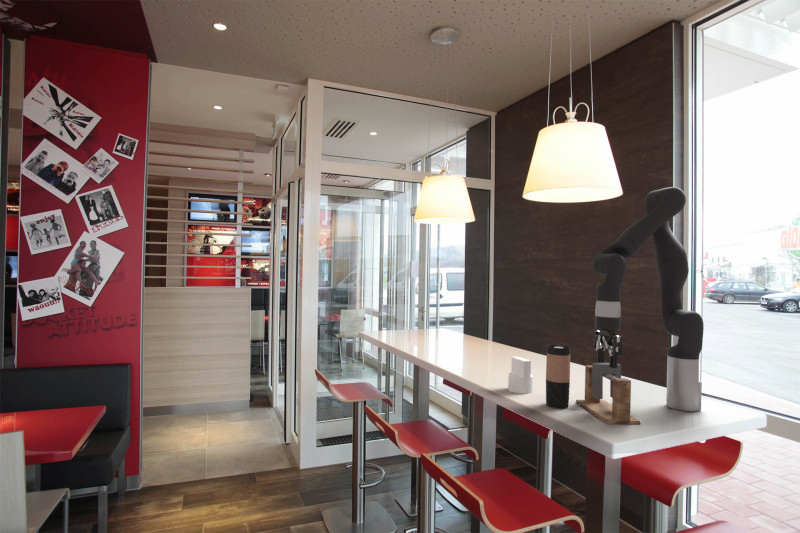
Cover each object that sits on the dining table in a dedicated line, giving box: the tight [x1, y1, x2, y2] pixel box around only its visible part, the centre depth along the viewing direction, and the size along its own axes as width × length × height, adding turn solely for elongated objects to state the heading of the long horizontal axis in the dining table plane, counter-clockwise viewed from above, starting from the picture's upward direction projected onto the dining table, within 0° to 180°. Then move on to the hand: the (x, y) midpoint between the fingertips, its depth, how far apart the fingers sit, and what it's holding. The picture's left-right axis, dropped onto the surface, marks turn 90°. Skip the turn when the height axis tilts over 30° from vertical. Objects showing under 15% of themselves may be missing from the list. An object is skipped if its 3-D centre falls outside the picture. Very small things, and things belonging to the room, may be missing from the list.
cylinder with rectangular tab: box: [507, 356, 534, 395], centre depth 172 cm, size 9×9×12 cm
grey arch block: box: [591, 362, 622, 400], centre depth 147 cm, size 8×3×11 cm, turn 92°
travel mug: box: [545, 344, 571, 410], centre depth 154 cm, size 8×8×20 cm
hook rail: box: [575, 364, 641, 425], centre depth 147 cm, size 10×22×13 cm, turn 2°
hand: (606, 365), depth 147 cm, fingers open, 8 cm apart
